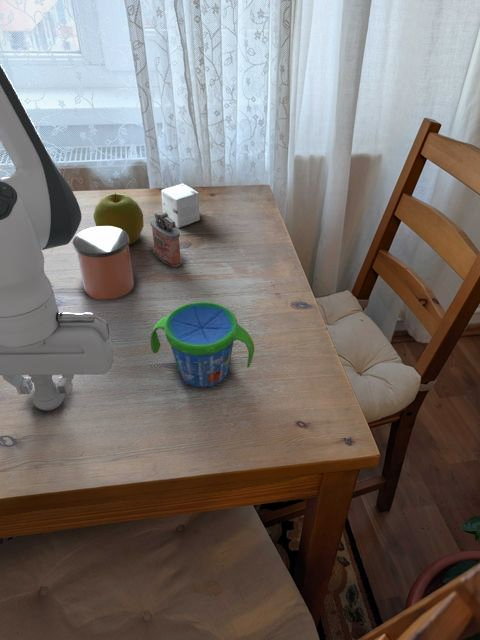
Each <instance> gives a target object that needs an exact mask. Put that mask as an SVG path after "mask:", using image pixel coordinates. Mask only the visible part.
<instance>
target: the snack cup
mask: <svg viewBox="0 0 480 640" xmlns="http://www.w3.org/2000/svg"><path fill="white" fill-rule="evenodd" d="M159 329H161V330H163V331H164V334H165V338H166V340H167V342H168V344H169V345H170V347H171V351H172V354H173V357H174V361H175V364H176V367H177V371H178V373H179V375H180V377H181V379H182V380H183V381H184V382H185V383H186V384H188V385H191V386H193V387H198V388H208V387H213V386H216V385H218V384H219V383H221V382H222V381H224V379H225V378H226V377H227V375H228V373H229V369H230V363H231V359H232V352H233V347H234V341H240V342H242V343H244V344H245V347H246V349H247V351H248V356H247V365H246V368H250V366H251V364H252V361H253V357H254V354H255V344H254V341H253V338H252V337H251V335H250V333H249V332H248V331H247V330H246V329H245V328H243V327H242V326H241V325H240V324H239V323H238V320H237V317H236V315H235V314H234V313H233V311H231V310H230V309H229V308H228V307H225V306H224V305H221V304H219V303H214V302H207V301H198V302H190V303H187V304H184V305H181V306H179V307H177V308H176V309H174V310H173V311H172V312H171V313H169V314H168V315H166V316H164V317H162V318H160V319H159V320H158V321H157V323H156V324H155V326H154V327H153V329H152V331H151V333H150V348H151V351H152V353H153V354H157V353H158V352H159V350H160V348H161V341H160V338H159V336H158V332H157V331H158V330H159Z"/></svg>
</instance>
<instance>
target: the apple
mask: <svg viewBox="0 0 480 640" xmlns="http://www.w3.org/2000/svg"><path fill="white" fill-rule="evenodd" d="M93 211H94V212H93V215H92V216H93V221H94V225H95V227H99V226H110V227H116V228H119V229H121V230H123V231H125V232H126V233H127V235H128V238H129V244H128V246H129V245H132V244H134V243H136V242H137V241H138V240H139V238H140V236H141V234H142V231H143V229H144V225H145V224H144V212H143V210H142V208H141V207H140V205H139V204H138V202H137V201H135V200H134V199H133V198H132V197H131V196H129V195H128V194H125V193H124V194H123V193H116V192H114V193H108V194H106V195H104V196H103V197H101V199H100V200H98V201H97V203H96V205H95V207H94V210H93Z"/></svg>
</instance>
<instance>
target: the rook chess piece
mask: <svg viewBox="0 0 480 640" xmlns="http://www.w3.org/2000/svg"><path fill="white" fill-rule="evenodd" d="M28 377H29V378H30V379H31V383H32V384H34V393H33V394H32V395H33V396H32V403H33V405H34V406H35V408H38V409H39V410H40V411H41V410H42V411H51V410H55V409H57V408H58V407H60V406H61V404H62V403H63V402H64V398H65V394H60V393H59V390H58V387H57V385H58V384H56V383H55V382H54V379H53V375H28Z"/></svg>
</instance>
